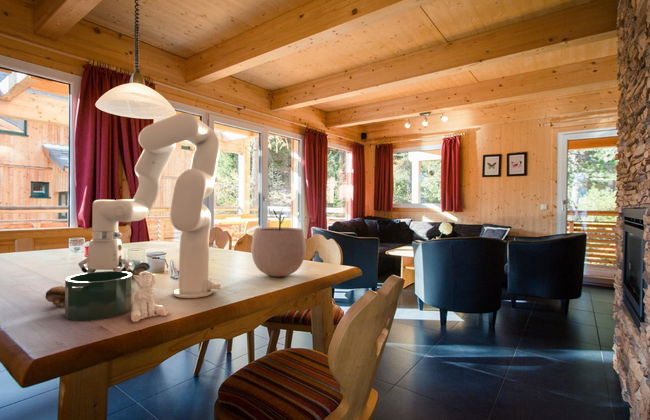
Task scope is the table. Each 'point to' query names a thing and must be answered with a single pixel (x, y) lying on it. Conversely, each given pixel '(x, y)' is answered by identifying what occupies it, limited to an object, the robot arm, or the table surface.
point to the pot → (98, 295)
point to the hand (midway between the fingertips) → (104, 286)
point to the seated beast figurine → (145, 299)
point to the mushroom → (56, 295)
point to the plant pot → (278, 249)
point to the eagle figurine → (138, 269)
